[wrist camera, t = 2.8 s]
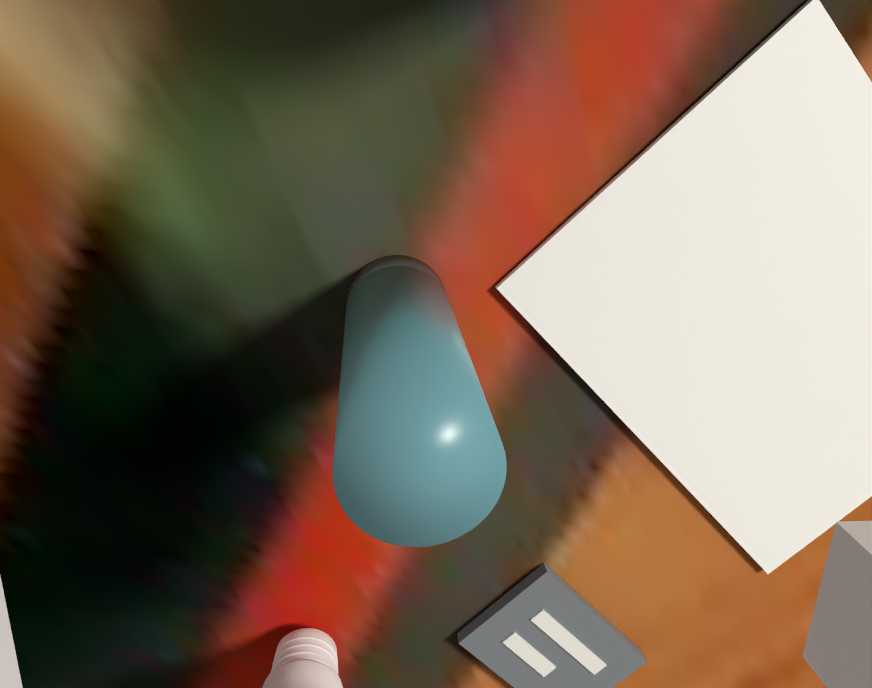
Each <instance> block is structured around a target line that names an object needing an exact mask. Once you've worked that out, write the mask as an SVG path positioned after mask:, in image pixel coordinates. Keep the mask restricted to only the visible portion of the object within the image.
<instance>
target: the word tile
mask: <svg viewBox="0 0 872 688" xmlns="http://www.w3.org/2000/svg"><path fill="white" fill-rule="evenodd" d="M457 637H458V643H459V644H460V645H461V646H462V647H464V648H465V649H466V650H467V651H469V652H470V653H471V654H472V655H474V656H475V657H476V658H477V659H479V660H480V661H481V662H482V663H484V664H485V665H486V666H487V667H489V668H490V669H491V670H492V671H494V672H495V673H496V674H497V675H499V676H500V677H501V678H502V679H503V680H505V681H506V682H507V683H508V684H510V685H511V686H512V687H513V688H613V687H614V686H616V685H617V684H618V683H620V682H621V681H622V680H623V679H625V678H626V677H627V676H629V675H630V674H631V673H633V672H634V671H635V670H637V669H638V668H639V667H641V666H642V665H643V664H645V663H646V662H647V660H646V658H645V656H644V654H643V652H642V651H641V650H640V649H639V648H638V647H637V646H636V645H635V644H633V643H632V642H631V641H630V640H629V639H628V638H627V637H626V636H625V635H623V634H622V633H621V632H620V631H619V630H618V629H617V628H616V627H615V626H613V625H612V624H611V623H610V622H609V621H608V620H607V619H606V618H605V617H604V616H602V615H601V614H600V613H599V612H598V611H597V610H596V609H595V608H594V607H592V606H591V605H590V604H589V603H588V602H587V601H586V600H585V599H584V598H582V597H581V596H580V595H579V594H578V593H577V592H576V591H575V590H574V589H572V588H571V587H570V586H569V585H568V584H567V583H566V582H565V581H564V580H563V579H561V578H560V577H559V576H558V575H557V574H556V573H555V572H554V571H553V570H551V569H550V568H549V567H548V566H547V565H546V564H545V563H543V564H542V565H540V566H539V567H538V568H537V569H535V570H534V571H533V572H532V573H531V574H529V575H528V576H527V577H526V578H524V579H523V580H522V581H521V582H519V583H518V584H517V585H516V586H515V587H513V588H512V589H511V590H510V591H508V592H507V593H506V594H505V595H503V596H502V597H501V598H500V599H499V600H497V601H496V602H495V603H494V604H492V605H491V606H490V607H489V608H487V609H486V610H485V611H484V612H483V613H481V614H480V615H479V616H478V617H476V618H475V619H474V620H473V621H471V622H470V623H469V624H468V625H467V626H465V627H464V628H463V629H462V630H460V631H459V632H458V633H457Z"/></svg>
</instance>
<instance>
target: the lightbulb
mask: <svg viewBox="0 0 872 688" xmlns="http://www.w3.org/2000/svg"><path fill="white" fill-rule="evenodd" d="M262 688H343V686H342V683H341V680H340V678H339V676H338V658H337V648H336V645H335V643H334V641H333V639H332V638H331V637H330V636H329V635H327V634H326V633H324V632H323V631H320V630H318V629H314V628H301V629H297V630H295V631H292V632H290V633H289V634H287V635H286V636H284V637H283V638H282V639H281V641H280V642H279V644H278V646H277V649H276V653H275V656H274V661H273V665H272V670H271V673H270V674H269V675H268V677H267V678H266V680H265V682H264V684H263V686H262Z"/></svg>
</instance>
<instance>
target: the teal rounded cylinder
mask: <svg viewBox="0 0 872 688" xmlns="http://www.w3.org/2000/svg"><path fill="white" fill-rule="evenodd" d="M505 478H506V456H505V451H504V448H503V444H502V441H501V439H500V436H499V433H498V431H497V428H496V425H495V423H494V420H493V417H492V415H491V412H490V409H489V407H488V404H487V401H486V399H485V396H484V393H483V390H482V388H481V385H480V382H479V380H478V377H477V374H476V372H475V369H474V366H473V364H472V361H471V358H470V356H469V353H468V350H467V348H466V345H465V342H464V340H463V337H462V334H461V332H460V329H459V326H458V324H457V321H456V318H455V316H454V313H453V310H452V307H451V305H450V302H449V299H448V297H447V294H446V291H445V289H444V286H443V284H442V282H441V280H440V278H439V277H438V275H437V274H436V273H435V272H434V270H432V269H431V268H430V267H429V266H428V265H426V264H425V263H423V262H422V261H420V260H418V259H415V258H412V257H408V256H401V255H392V256H386V257H382V258H379V259H377V260H374V261H372V262H371V263H369V264H367V265H366V266H365V267H364V268H362V269H361V270H360V271H359V273H358V274H357V275H356V276H355V278H354V279H353V281H352V283H351V285H350V288H349V291H348V295H347V303H346V315H345V328H344V340H343V352H342V364H341V376H340V388H339V400H338V412H337V424H336V436H335V448H334V461H333V485H334V489H335V493H336V496H337V499H338V501H339V503H340V505H341V507H342V509H343V510H344V512H345V513H346V515H347V516H348V517H349V518H350V520H351V521H352V522H353V523H354V524H355V525H357V526H358V527H359V528H360V529H361V530H363V531H364V532H366V533H367V534H369V535H371V536H372V537H374V538H376V539H379V540H381V541H384V542H386V543H390V544H394V545H399V546H406V547H425V546H433V545H438V544H442V543H445V542H448V541H451V540H453V539H456V538H458V537H460V536H462V535H464V534H465V533H467V532H469V531H470V530H472V529H473V528H474V527H476V526H477V525H478V524H479V523H480V522H481V521H483V520H484V519H485V518H486V517H487V515H488V514H489V513H490V512H491V510H492V509H493V508H494V506H495V504H496V503H497V501H498V499H499V497H500V495H501V493H502V490H503V486H504V483H505Z"/></svg>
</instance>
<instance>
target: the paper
mask: <svg viewBox="0 0 872 688" xmlns="http://www.w3.org/2000/svg"><path fill="white" fill-rule="evenodd" d="M495 287H496V288H497V290H498V291H499V292H500V293H501V294H502V295H503V296H504V297H505V298H506V299H507V300H508V301H509V302H510V303H511V304H512V305H513V306H514V307H515V308H516V310H517V311H518V312H519V313H520V314H521V315H522V316H523V317H524V318H525V319H526V320H527V321H528V322H529V323H530V324H531V325H532V326H533V327H534V328H535V330H536V331H537V332H538V333H539V334H540V335H541V336H542V337H543V338H544V339H545V340H546V341H547V342H548V343H549V344H550V345H551V346H552V347H553V348H554V350H555V351H556V352H557V353H558V354H559V355H560V356H561V357H562V358H563V359H564V360H565V361H566V362H567V363H568V364H569V365H570V366H571V367H572V368H573V370H574V371H575V372H576V373H577V374H578V375H579V376H580V377H581V378H582V379H583V380H584V381H585V382H586V383H587V384H588V385H589V386H590V387H591V388H592V390H593V391H594V392H595V393H596V394H597V395H598V396H599V397H600V398H601V399H602V400H603V401H604V402H605V403H606V404H607V405H608V406H609V407H610V408H611V409H612V411H613V412H614V413H615V414H616V415H617V416H618V417H619V418H620V419H621V420H622V421H623V422H624V423H625V424H626V425H627V426H628V427H629V428H630V429H631V431H632V432H633V433H634V434H635V435H636V436H637V437H638V438H639V439H640V440H641V441H642V442H643V443H644V444H645V445H646V446H647V447H648V448H649V449H650V451H651V452H652V453H653V454H654V455H655V456H656V457H657V458H658V459H659V460H660V461H661V462H662V463H663V464H664V465H665V466H666V467H667V468H668V469H669V471H670V472H671V473H672V474H673V475H674V476H675V477H676V478H677V479H678V480H679V481H680V482H681V483H682V484H683V485H684V486H685V487H686V488H687V489H688V491H689V492H690V493H691V494H692V495H693V496H694V497H695V498H696V499H697V500H698V501H699V502H700V503H701V504H702V505H703V506H704V507H705V508H706V509H707V511H708V512H709V513H710V514H711V515H712V516H713V517H714V518H715V519H716V520H717V521H718V522H719V523H720V524H721V525H722V526H723V527H724V528H725V529H726V531H727V532H728V533H729V534H730V535H731V536H732V537H733V538H734V539H735V540H736V541H737V542H738V543H739V544H740V545H741V546H742V547H743V548H744V549H745V551H746V552H747V553H748V554H749V555H750V556H751V557H752V558H753V559H754V560H755V561H756V562H757V563H758V564H759V565H760V566H761V567H762V568H763V569H764V571H765V572H766V573H767V574H769V573H770V572H772V571H773V570H774V569H776V568H777V567H778V566H780V565H781V564H782V563H784V562H785V561H786V560H788V559H789V558H790V557H792V556H793V555H794V554H796V553H797V552H798V551H800V550H801V549H802V548H804V547H805V546H806V545H807V544H809V543H810V542H811V541H813V540H814V539H815V538H817V537H818V536H819V535H821V534H822V533H823V532H825V531H826V530H827V529H829V528H830V527H831V526H833V525H834V524H835V523H836V522H838V521H839V520H841V519H842V518H843V517H845V516H846V515H847V514H848V513H850V512H851V511H852V510H854V509H855V508H856V507H858V506H859V505H860V504H862V503H863V502H864V501H866V500H867V499H868V498H870V497H871V496H872V82H871V81H870V79H869V78H868V76H867V74H866V73H865V71H864V70H863V68H862V67H861V65H860V63H859V62H858V60H857V59H856V57H855V56H854V54H853V52H852V51H851V49H850V48H849V46H848V45H847V43H846V42H845V40H844V38H843V37H842V35H841V34H840V32H839V31H838V29H837V27H836V26H835V24H834V23H833V21H832V20H831V18H830V16H829V15H828V13H827V12H826V10H825V9H824V7H823V6H822V4H821V2H820V1H819V0H808V1H807V2H806V3H805V4H804V5H803V6H801V7H800V8H799V9H798V10H797V11H796V12H795V13H794V14H793V15H792V16H790V17H789V18H788V19H787V20H786V21H785V22H784V23H783V24H782V25H781V26H780V27H778V28H777V29H776V30H775V31H774V32H773V33H772V34H771V35H770V36H769V37H768V38H766V39H765V40H764V41H763V42H762V43H761V44H760V45H759V46H758V47H757V48H755V49H754V50H753V51H752V52H751V53H750V54H749V55H748V56H747V57H746V58H745V59H743V60H742V61H741V62H740V63H739V64H738V65H737V66H736V67H735V68H734V69H732V70H731V71H730V72H729V73H728V74H727V75H726V76H725V77H724V78H723V79H722V80H720V81H719V82H718V83H717V84H716V85H715V86H714V87H713V88H712V89H711V90H709V91H708V92H707V93H706V94H705V95H704V96H703V97H702V98H701V99H700V100H699V101H697V102H696V103H695V104H694V105H693V106H692V107H691V108H690V109H689V110H688V111H686V112H685V113H684V114H683V115H682V116H681V117H680V118H679V119H678V120H677V121H676V122H674V123H673V124H672V125H671V126H670V127H669V128H668V129H667V130H666V131H665V132H663V133H662V134H661V135H660V136H659V137H658V138H657V139H656V140H655V141H654V142H653V143H651V144H650V145H649V146H648V147H647V148H646V149H645V150H644V151H643V152H642V153H640V154H639V155H638V156H637V157H636V158H635V159H634V160H633V161H632V162H631V163H630V164H628V165H627V166H626V167H625V168H624V169H623V170H622V171H621V172H620V173H619V174H617V175H616V176H615V177H614V178H613V179H612V180H611V181H610V182H609V183H608V184H607V185H605V186H604V187H603V188H602V189H601V190H600V191H599V192H598V193H597V194H596V195H594V196H593V197H592V198H591V199H590V200H589V201H588V202H587V203H586V204H585V205H584V206H582V207H581V208H580V209H579V210H578V211H577V212H576V213H575V214H574V215H573V216H571V217H570V218H569V219H568V220H567V221H566V222H565V223H564V224H563V225H562V226H561V227H559V228H558V229H557V230H556V231H555V232H554V233H553V234H552V235H551V236H550V237H548V238H547V239H546V240H545V241H544V242H543V243H542V244H541V245H540V246H539V247H538V248H536V249H535V250H534V251H533V252H532V253H531V254H530V255H529V256H528V257H527V258H525V259H524V260H523V261H522V262H521V263H520V264H519V265H518V266H517V267H516V268H515V269H513V270H512V271H511V272H510V273H509V274H508V275H507V276H506V277H505V278H504V279H502V280H501V281H500V282H499V283H498V284H497V285H496V286H495Z"/></svg>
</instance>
